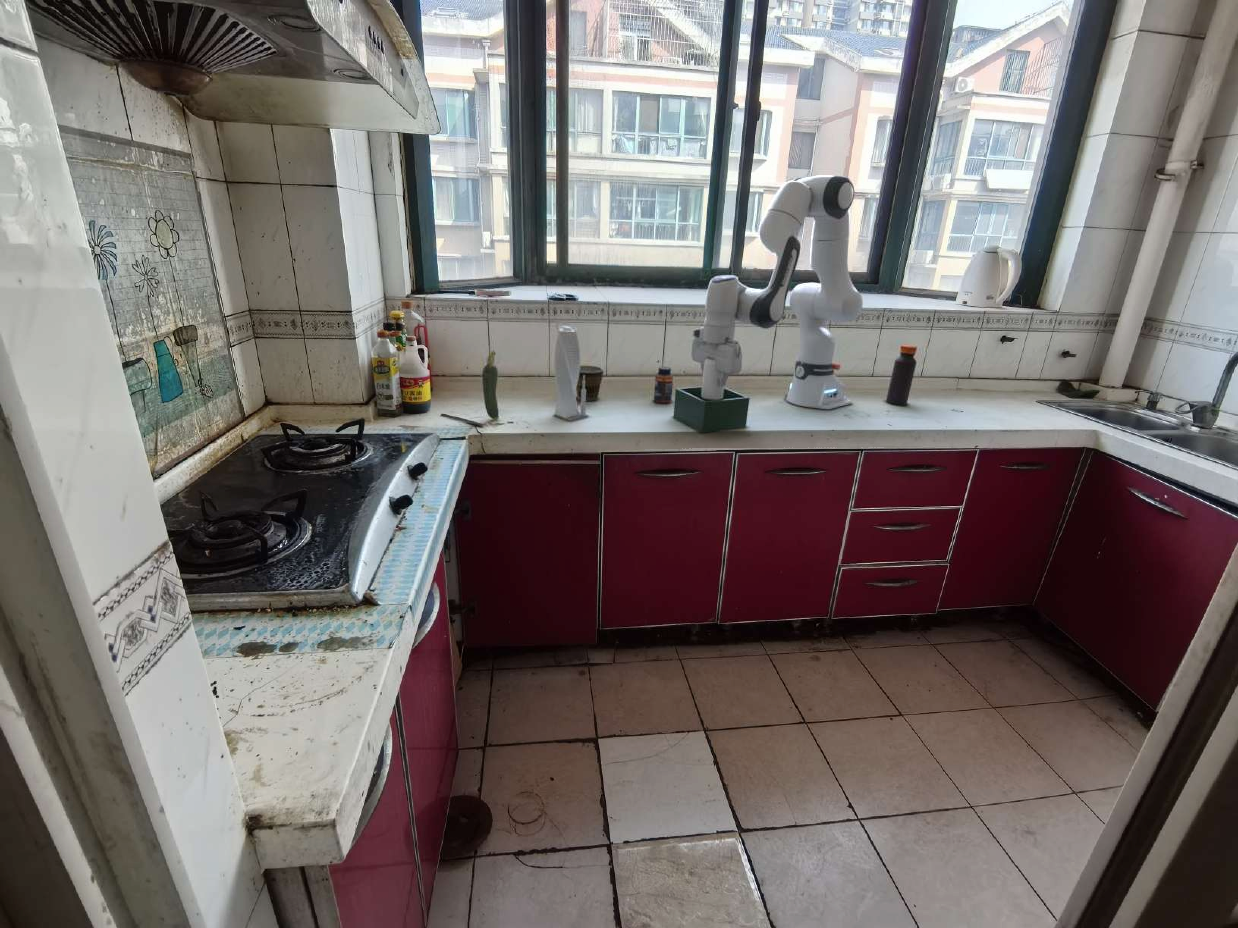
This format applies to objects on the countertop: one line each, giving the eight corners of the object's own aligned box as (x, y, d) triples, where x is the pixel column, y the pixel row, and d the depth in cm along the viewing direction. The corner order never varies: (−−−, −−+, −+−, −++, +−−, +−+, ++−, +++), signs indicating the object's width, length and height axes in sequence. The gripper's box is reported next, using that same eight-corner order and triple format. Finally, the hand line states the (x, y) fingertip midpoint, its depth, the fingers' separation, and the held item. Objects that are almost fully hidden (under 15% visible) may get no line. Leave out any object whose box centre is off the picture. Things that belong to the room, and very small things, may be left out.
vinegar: (910, 404, 207) (924, 347, 200) (899, 406, 204) (912, 348, 196) (893, 399, 212) (905, 343, 205) (881, 401, 209) (894, 345, 201)
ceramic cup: (585, 392, 202) (585, 364, 198) (608, 398, 197) (609, 369, 193) (560, 400, 192) (560, 370, 189) (583, 406, 187) (584, 375, 183)
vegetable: (486, 422, 168) (483, 352, 161) (482, 418, 172) (479, 349, 164) (501, 421, 170) (499, 351, 163) (497, 416, 174) (494, 348, 166)
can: (722, 402, 172) (726, 361, 167) (700, 399, 173) (704, 359, 168) (723, 396, 178) (727, 356, 173) (701, 394, 179) (705, 354, 174)
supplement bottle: (674, 401, 198) (677, 367, 193) (666, 404, 193) (668, 370, 189) (659, 397, 201) (661, 364, 196) (650, 401, 196) (652, 367, 192)
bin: (715, 412, 188) (718, 384, 184) (745, 427, 175) (749, 397, 172) (673, 417, 181) (675, 388, 178) (702, 432, 168) (705, 402, 165)
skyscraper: (566, 422, 172) (567, 324, 161) (548, 415, 177) (548, 320, 166) (587, 416, 178) (589, 322, 167) (568, 410, 183) (570, 318, 172)
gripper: (750, 341, 161) (744, 390, 166) (707, 328, 178) (702, 373, 183) (731, 342, 158) (725, 392, 164) (689, 329, 175) (685, 375, 180)
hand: (713, 382), depth 173 cm, fingers closed on can, 6 cm apart
